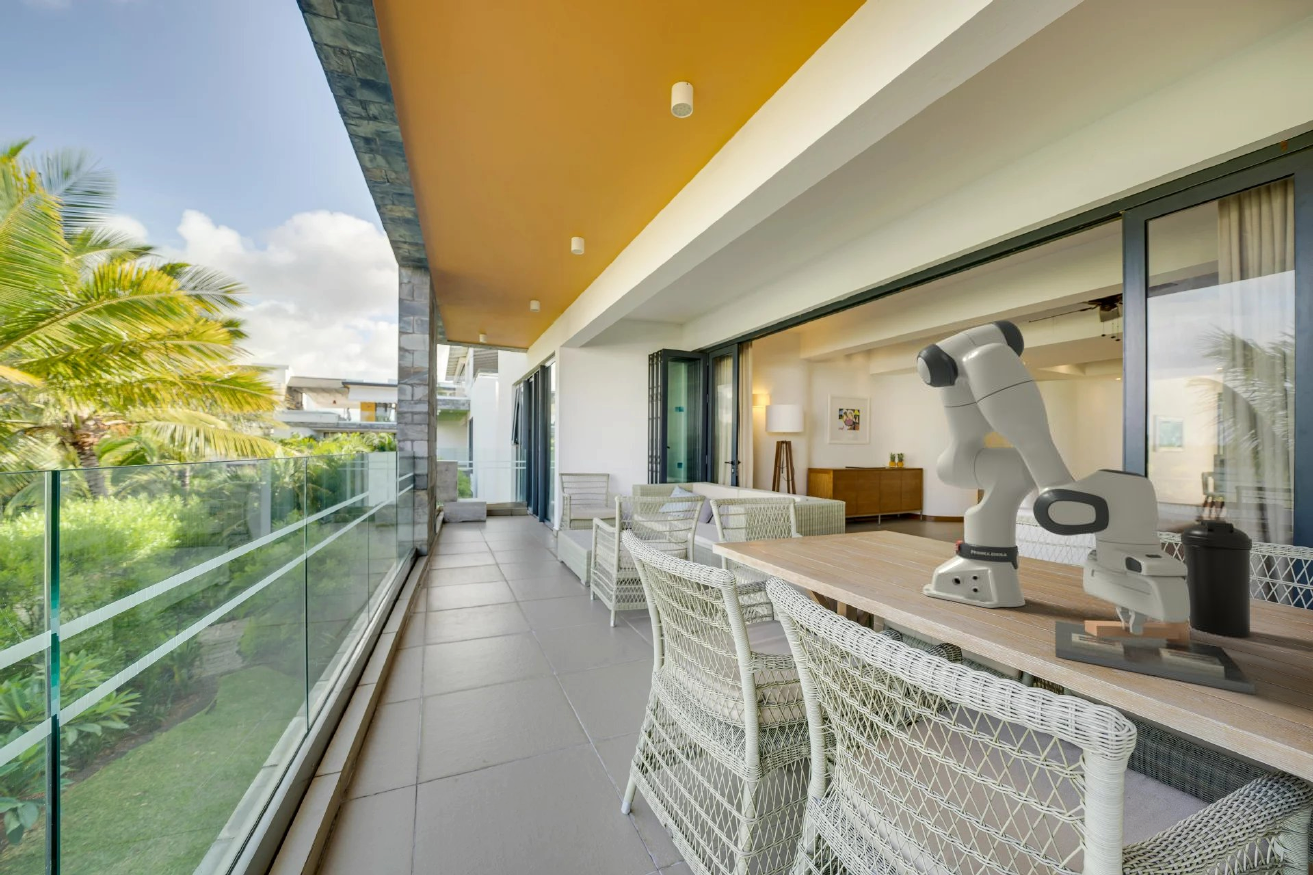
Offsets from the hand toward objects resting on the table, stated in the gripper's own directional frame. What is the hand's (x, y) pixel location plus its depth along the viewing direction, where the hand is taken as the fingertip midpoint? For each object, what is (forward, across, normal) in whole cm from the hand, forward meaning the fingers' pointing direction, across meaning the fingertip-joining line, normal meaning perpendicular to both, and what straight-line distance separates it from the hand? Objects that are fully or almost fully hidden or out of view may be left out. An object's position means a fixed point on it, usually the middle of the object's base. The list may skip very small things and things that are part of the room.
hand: (1132, 632), depth 93 cm
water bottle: (+4, -18, +28) cm, 34 cm away
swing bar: (+2, -3, +3) cm, 5 cm away
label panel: (+4, 0, +1) cm, 4 cm away
